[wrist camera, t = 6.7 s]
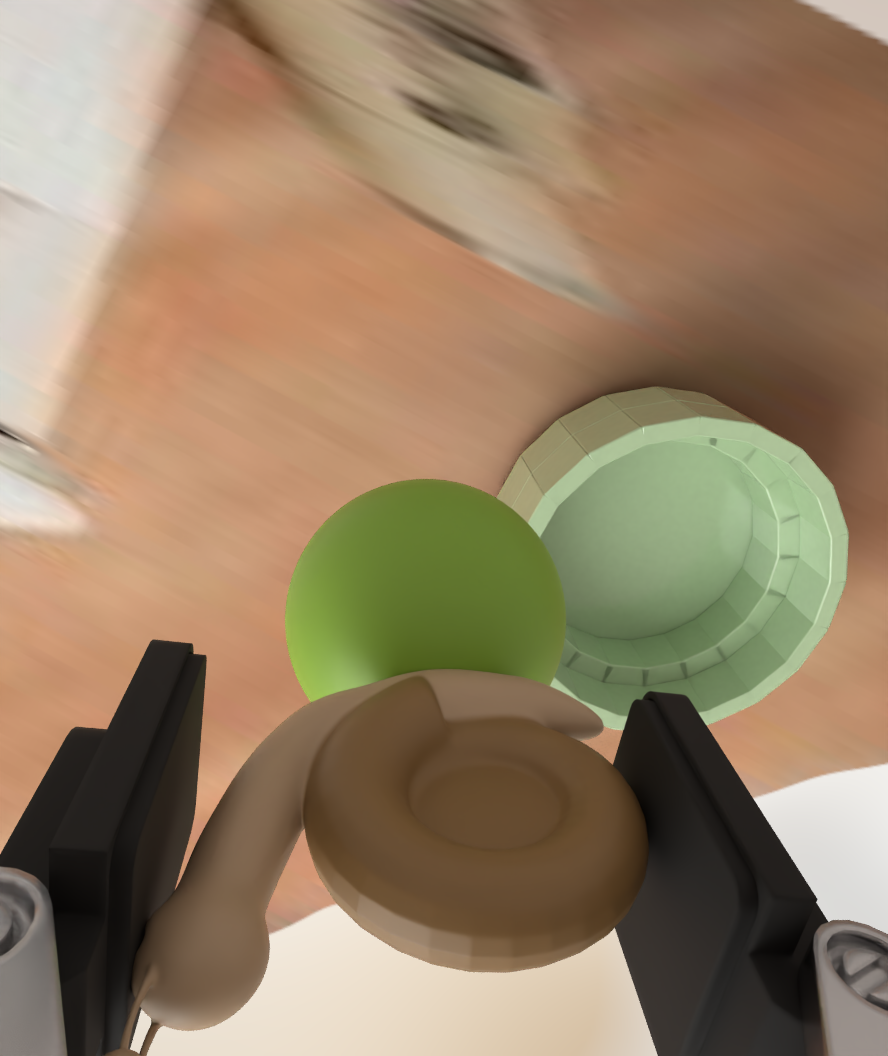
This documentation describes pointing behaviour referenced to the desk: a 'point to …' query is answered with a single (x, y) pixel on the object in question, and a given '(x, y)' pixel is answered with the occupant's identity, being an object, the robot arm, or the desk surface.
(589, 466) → the green round bowl
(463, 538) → the snail figurine
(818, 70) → the desk surface
